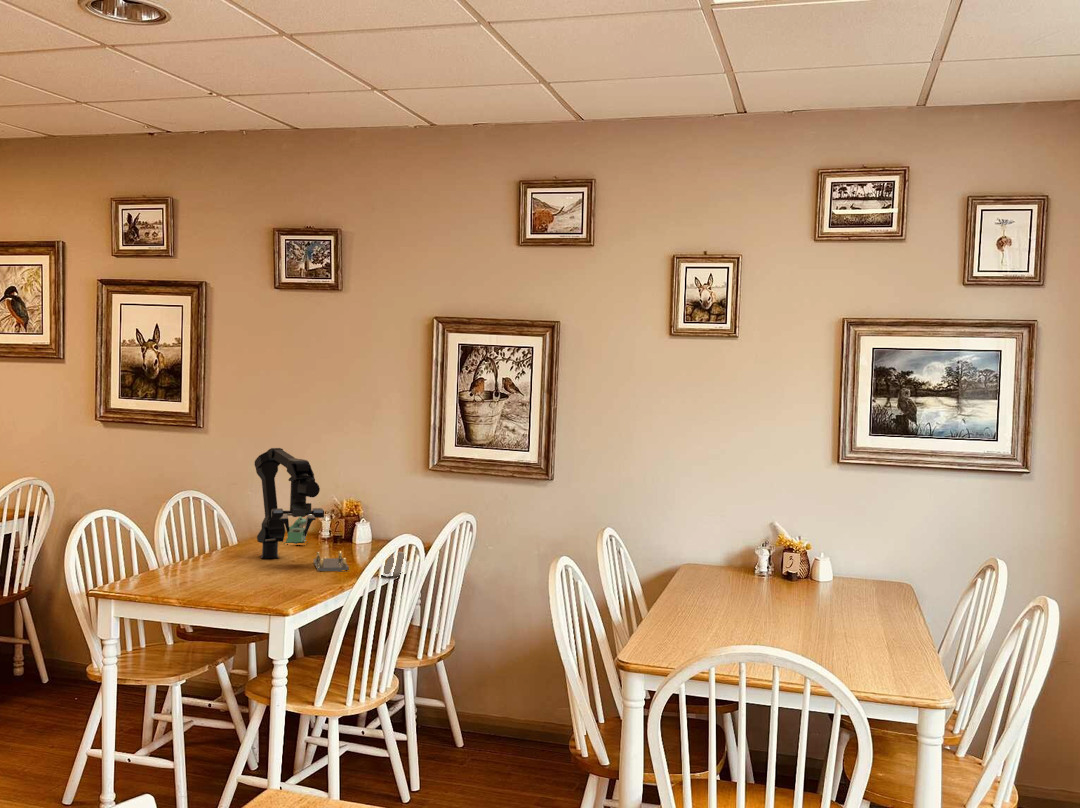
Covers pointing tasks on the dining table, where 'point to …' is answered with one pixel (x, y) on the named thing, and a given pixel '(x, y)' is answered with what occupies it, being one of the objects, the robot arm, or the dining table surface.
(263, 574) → the dining table surface
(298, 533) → the board
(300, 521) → the frog figurine
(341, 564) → the chassis
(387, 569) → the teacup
